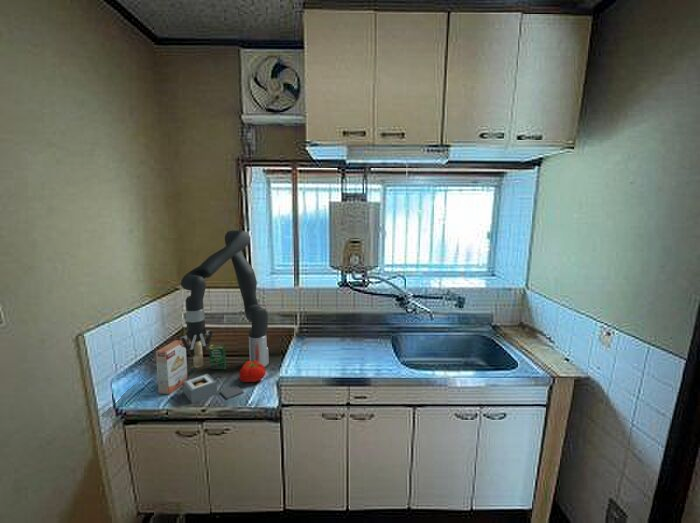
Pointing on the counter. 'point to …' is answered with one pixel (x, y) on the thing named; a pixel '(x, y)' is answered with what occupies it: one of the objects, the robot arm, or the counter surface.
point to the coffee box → (217, 356)
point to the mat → (231, 392)
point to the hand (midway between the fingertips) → (197, 354)
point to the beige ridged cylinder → (198, 354)
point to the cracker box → (171, 367)
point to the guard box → (200, 388)
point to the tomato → (252, 371)
